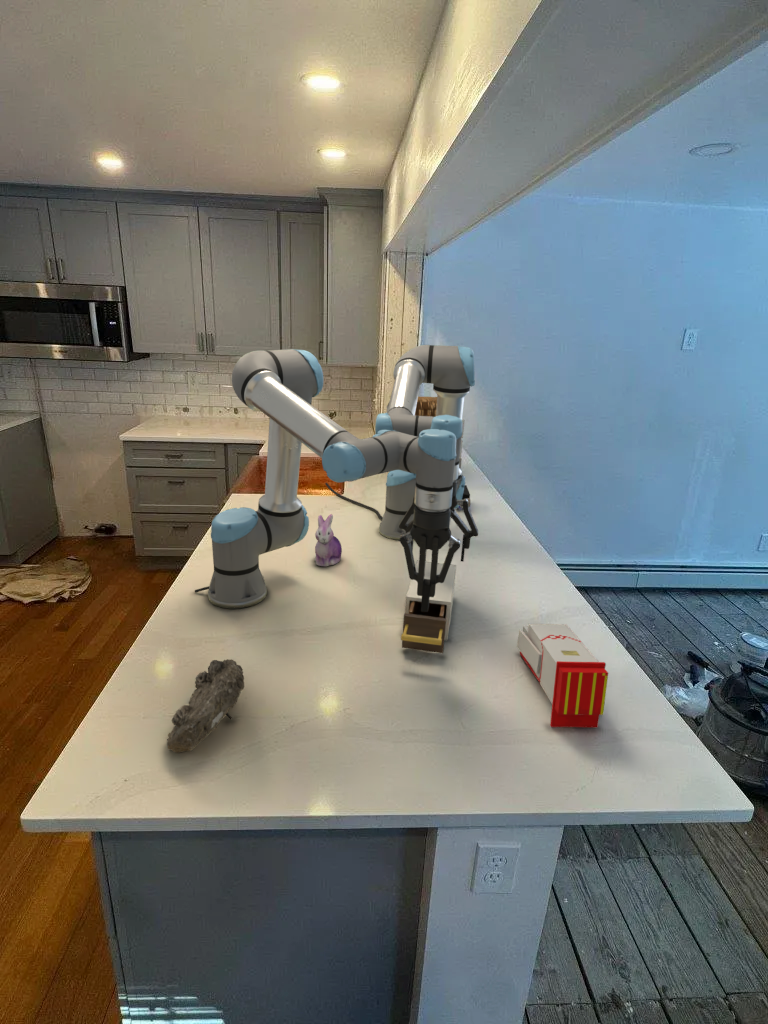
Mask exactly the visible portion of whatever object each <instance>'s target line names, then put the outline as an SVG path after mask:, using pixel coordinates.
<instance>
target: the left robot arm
mask: <svg viewBox="0 0 768 1024" xmlns="http://www.w3.org/2000/svg"><path fill="white" fill-rule="evenodd" d="M324 379H325V378H324V371H323V368H322V366H321V364H320V363H319V360H318V358H317V357H316V356H315V355H314V354H313V353H312V352H310V351H308V350H304V349H295V348H288V349H287V348H286V349H272V350H271V349H270V350H269V349H268V350H266V349H265V350H262V349H261V350H253V351H250V352H247V353H244V354H243V355H242V356H241V357H240V358H239V359H238V360H237V362H236V363H235V365H234V366H233V369H232V373H231V384H232V385H231V386H232V388H233V391H234V394H235V395H236V396H237V398H238V399H239V400H240V401H241V402H242V403H243V404H244V405H245V406H246V407H248V408H249V409H250V410H251V411H254V412H261V413H263V414H264V415H265V416H267V417H268V418H269V423H268V436H267V438H268V440H267V454H266V457H267V458H266V469H265V470H266V472H265V485H264V486H265V488H264V494H263V495H262V496H260V498H259V499H258V506H257V510H254V509H253V508H251V507H243V506H242V507H239V508H238V507H233V508H229V509H225V510H223V511H221V512H219V513H217V514H216V515H215V516H214V517H213V518H212V521H211V527H210V529H211V530H210V539H211V548H212V562H213V564H212V565H213V573H212V576H211V579H210V583H209V586H204V587H200V588H198V589H194V593H199V592H203V591H206V590H207V595H208V596H207V597H208V601H209V602H210V603H211V604H212V605H214V606H216V607H219V608H223V609H244V608H249V607H253V606H255V605H258V604H259V603H261V602H262V601H263V600H265V598H266V597H267V595H268V592H267V591H268V589H267V584H266V581H265V579H264V578H265V577H264V575H263V573H262V572H261V569H260V556H261V555H263V554H266V553H270V552H272V551H276V550H279V549H282V548H285V547H286V548H287V547H292V546H293V545H295V544H297V543H299V542H301V541H302V540H303V539H305V537H306V536H307V534H308V531H309V526H310V520H309V519H310V518H309V516H308V515H307V514H308V512H307V511H308V510H307V509H306V507H305V506H304V505H303V502H302V500H301V499H300V498H299V497H298V489H299V479H300V477H299V476H300V468H301V467H300V466H301V458H302V457H301V456H302V445H304V446H305V447H306V448H308V449H309V450H310V451H311V452H312V453H314V454H315V455H317V456H318V457H319V458H321V465H322V470H323V471H324V472H325V473H326V477H328V479H329V480H331V481H333V482H335V483H347V482H356V481H358V480H361V479H365V478H369V477H372V476H377V475H381V474H385V473H389V472H390V471H394V470H402V471H406V472H409V473H413V474H416V488H415V502H414V503H415V505H416V506H415V507H414V518H413V526H412V528H411V530H410V532H408V533H406V534H405V533H402V534H401V536H400V539H399V540H398V541H399V542H400V544H401V546H402V547H403V551H404V558H405V562H406V567H407V572H408V578H409V579H410V581H411V580H416V581H417V583H418V585H417V595H418V596H422V602H421V611H422V612H428V608H429V598H430V597H434V596H435V588H436V584H437V583H443V582H444V580H445V578H446V575H447V572H448V569H449V567H450V564H451V563H452V561H453V558H454V556H455V553H456V552H457V551H458V550H459V549H460V547H461V542H462V541H461V539H460V538H456V537H454V536H453V535H452V531H451V528H450V525H451V517H450V515H451V510H450V507H451V504H452V493H453V476H454V468H455V460H456V456H457V454H456V436H455V435H454V434H453V433H452V432H450V431H446V430H438V429H427V430H423V431H421V432H420V434H419V437H417V436H413V435H409V434H405V433H401V432H398V431H395V430H380V431H378V432H377V433H376V434H375V433H374V434H373V435H372V436H371V437H365V438H359V437H357V436H356V435H354V434H352V433H351V432H350V431H349V430H347V429H345V428H344V427H343V426H341V425H340V424H338V423H337V421H335V420H333V419H331V418H330V417H329V416H327V415H326V414H325V413H323V412H322V411H320V410H319V409H318V408H316V407H315V406H314V405H312V401H313V398H315V397H317V396H318V395H320V393H321V392H322V390H323V387H324ZM411 537H412V538H413V542H414V543H415V544H416V545H417V547H418V548H419V553H418V554H419V557H418V561H419V569H418V572H416V567H415V565H416V562H415V557H414V551H413V552H412V546H411V541H412V538H411ZM447 542H448V550H447V553H446V556H445V558H444V562H443V563H444V564H443V567H442V569H441V572H440V574H439V575H437V565H438V563H439V552H440V550H441V549H442V548H443V547H444V545H446V544H447ZM427 550H429V551H431V561H430V562H431V573H430V579H424V576H425V563H426V561H427Z"/></svg>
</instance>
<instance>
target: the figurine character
mask: <svg viewBox="0 0 768 1024" xmlns="http://www.w3.org/2000/svg"><path fill="white" fill-rule="evenodd" d="M464 498H467V499H468V507H469V508H470V507H471V493H470V491H469V488H468V486H467V485H466V484H465V486H464V492H463V496H462V500H464ZM460 509H461V508H460V506H459V507H458V508H456V511H459V510H460Z"/></svg>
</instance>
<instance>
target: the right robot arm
mask: <svg viewBox="0 0 768 1024" xmlns="http://www.w3.org/2000/svg"><path fill="white" fill-rule="evenodd" d="M474 352H475V351H474V350H473V348H471V347H468V346H461V345H441V344H440V345H435V344H434V345H433V344H422V345H418V346H415V347H412V348H410V349H409V350H407V351H405V353H403V354H402V355H401V356H400V357H399V358H398V360H397V361H396V363H395V364H394V368H393V373H392V374H393V375H392V376H393V379H394V382H393V386H392V390H391V395H390V398H389V401H390V402H388V403H389V406H388V410H387V409H386V412H387V413H386V412H384V413H381V412H380V413H378V414H377V416H376V419H375V428H374V429H375V431H374V432H375V433H374V435H375V434H376V433H377V432H378V431H380V430H395V431H398V432H401V433H405V434H409V435H413V436H417V437H419V434H420V432H421V431H423V430H427V429H438V430H446V431H450V432H452V433H453V434H454V435H455V436H456V454H457V456H456V460H455V468H454V476H453V493H452V504H451V507H450V510H451V515H450V519H452V520H453V522H454V523H455V525H456V526H457V527H458V528H459V530H460V531H461V532H462V541H461V542H462V544H461V553H460V562H465V551H466V550H469V549H470V547H471V539H472V538H473V537H475V538H477V537H478V536H479V529H478V527H477V526H478V525H477V524H476V521H475V519H474V517H473V514H472V512H471V510H470V507H468V499H467V498H464V500H462V496H463V492H464V486H465V485H466V476H464V475H463V471H462V468H461V469H460V468H459V457H460V448H461V440H462V439H463V438H462V433H463V434H464V432H462V430H463V429H462V419H463V414H464V403H465V397H466V396H467V395H468V394H469V393H470V390H471V389H470V388H471V387H474V386H475V385H476V371H475V370H476V369H475V353H474ZM422 384H431V385H432V390H433V391H434V393H435V394H436V397H437V407H436V417H432V416H416V415H415V411H416V405H417V399H418V397H419V392H420V386H421V385H422ZM324 484H325V486H326V487H327V489H328V490H329V491H330V492H332V493H333V494H334V495H336V496H337V497H339V498H341V499H343V500H345V501H348V502H350V503H352V504H354V505H358V506H360V507H363V508H365V509H368V510H370V511H371V512H372V511H373V512H374V513H375V514H376V515H377V517H378V519H379V520H381V522H379V527H378V533H379V534H380V535H381V536H382V537H385V538H387V539H389V540H395V541H399V539H400V536H401V534H402V533H405V534H406V533H408V532H410V530H411V528H412V526H413V518H414V507H415V506H416V505H415V503H414V502H415V488H416V474H413V473H409V472H406V471H402V470H394V471H389V472H387V475H386V482H385V487H386V488H385V504H384V505H385V507H384V508H385V509H384V513H383V515H382V516H381V514H380V512H379V510H377V509H375V508H374V507H372V506H369V505H367V504H364V503H361V502H358V501H357V500H354V499H352V498H349V497H346V496H345V495H342V494H340V493H339V492H337V491H335V490H334V489H333V488H332V487H331V486H330V484H329V483H328V482H325V483H324ZM459 506H460V508H459ZM457 508H458V509H462V511H463V514H464V516H465V519H466V521H467V523H468V525H469V527H468V526H467V524H466V523H465V522H464V520H463V519H462V518H461V516H460V515H459V513H457ZM469 528H470V529H469ZM411 538H412V537H411ZM411 546H412V552H413V553H414V539H413V538H412V541H411Z"/></svg>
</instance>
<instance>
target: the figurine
mask: <svg viewBox="0 0 768 1024" xmlns="http://www.w3.org/2000/svg"><path fill="white" fill-rule="evenodd" d="M333 520H334V514H332V513H330V514H329V515H328V516H327V518H326V519H324V517H323V515H322V514H319V515H318V516H317V529H316V531H315V534H314V536H315V537H314V538H315V539H316V543H315V546H314V553H315V558H314V561H315V565H316V566H319V567H320V566H321V567H328V566H334V565H336V564H338V563H340V562H341V559H342V553H343V549H342V544H341V542H340V540H339V538H337V537H336V536H335V535H334V531H333V529H332V523H333Z"/></svg>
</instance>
